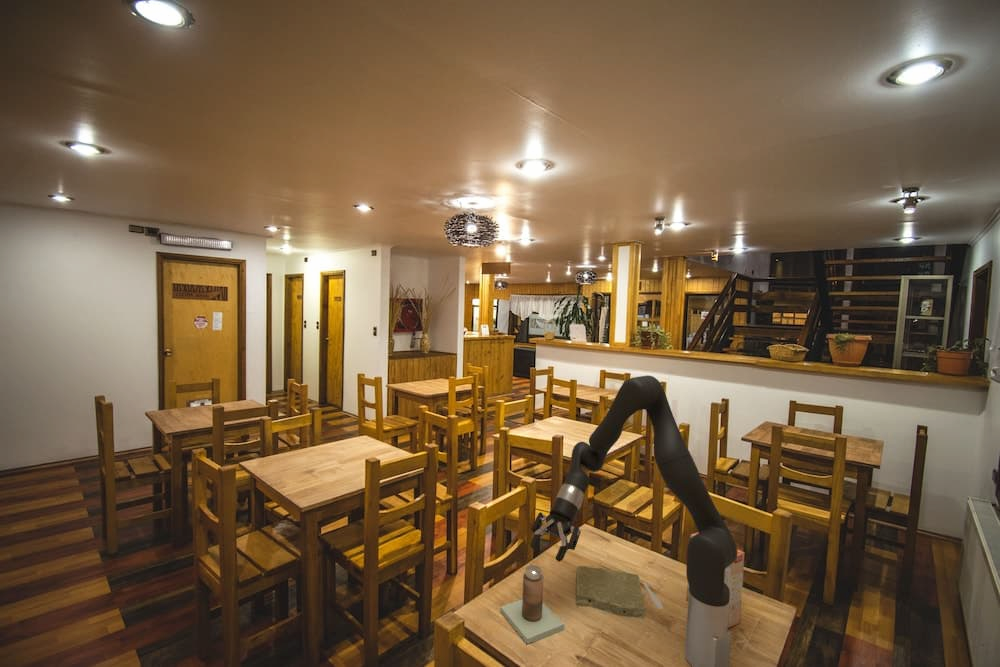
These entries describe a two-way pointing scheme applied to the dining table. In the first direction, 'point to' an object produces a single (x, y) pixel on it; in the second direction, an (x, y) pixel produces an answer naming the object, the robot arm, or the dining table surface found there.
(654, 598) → the butter knife
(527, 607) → the pepper mill
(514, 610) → the serving board
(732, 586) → the cracker box
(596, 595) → the decorative tile
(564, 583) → the dining table surface
